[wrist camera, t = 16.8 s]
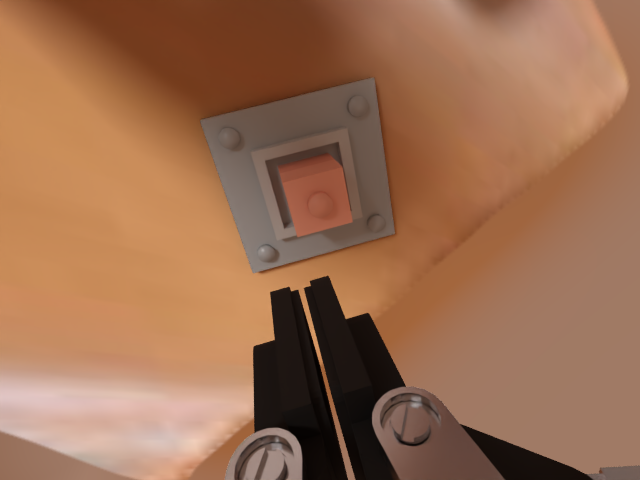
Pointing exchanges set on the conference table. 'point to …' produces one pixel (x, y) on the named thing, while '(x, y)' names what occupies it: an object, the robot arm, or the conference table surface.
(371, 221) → the baseplate
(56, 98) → the conference table surface
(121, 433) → the conference table surface
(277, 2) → the conference table surface
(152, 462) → the conference table surface
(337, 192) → the pink knobbed block
